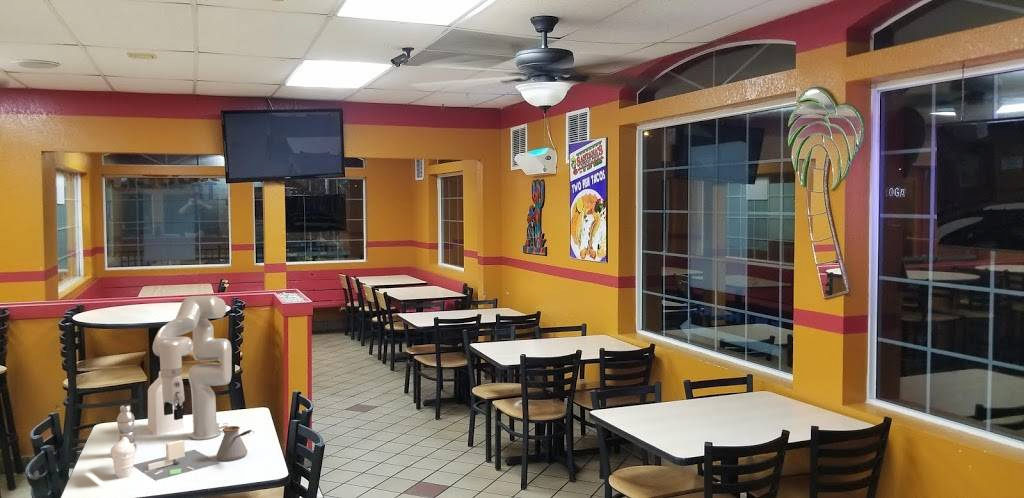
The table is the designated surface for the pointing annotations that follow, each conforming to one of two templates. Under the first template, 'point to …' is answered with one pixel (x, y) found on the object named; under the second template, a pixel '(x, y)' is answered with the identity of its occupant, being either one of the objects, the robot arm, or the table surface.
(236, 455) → the coffee pot
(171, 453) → the peg head
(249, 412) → the table surface
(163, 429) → the milk
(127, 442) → the soft serve ice cream cone
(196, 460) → the plate
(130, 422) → the plastic bottle
